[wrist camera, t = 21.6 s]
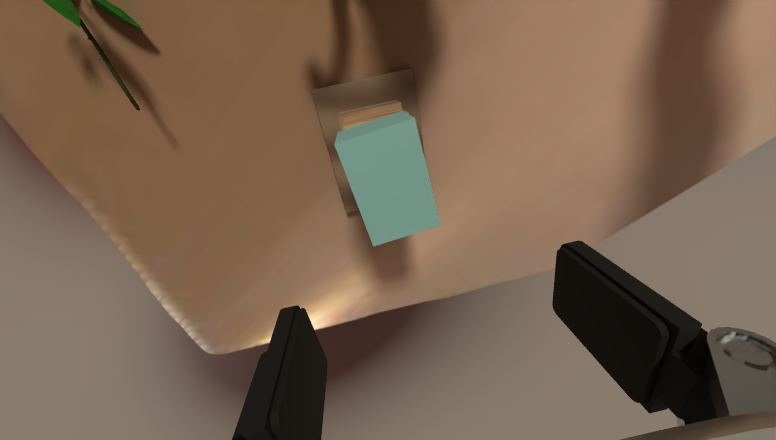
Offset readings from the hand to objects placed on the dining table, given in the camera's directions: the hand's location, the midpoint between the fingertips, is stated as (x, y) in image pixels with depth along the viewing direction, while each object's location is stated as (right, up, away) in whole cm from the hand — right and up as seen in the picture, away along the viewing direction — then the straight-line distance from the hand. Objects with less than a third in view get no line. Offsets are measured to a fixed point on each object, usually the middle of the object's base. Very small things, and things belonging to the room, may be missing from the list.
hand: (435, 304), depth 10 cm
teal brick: (-2, +8, +17) cm, 19 cm away
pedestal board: (-3, +13, +27) cm, 30 cm away
